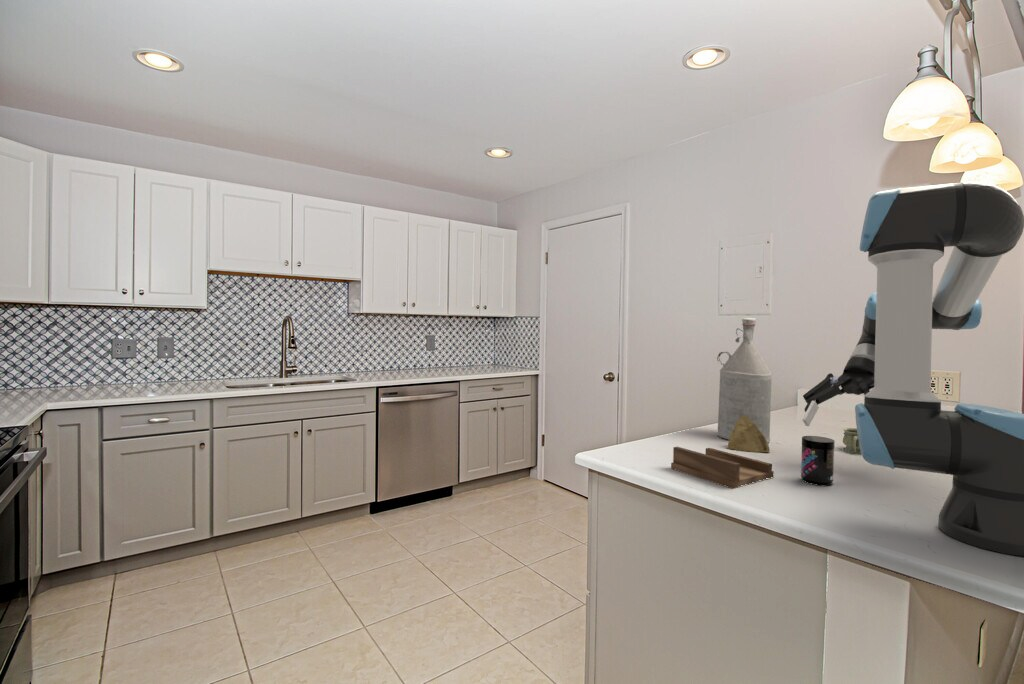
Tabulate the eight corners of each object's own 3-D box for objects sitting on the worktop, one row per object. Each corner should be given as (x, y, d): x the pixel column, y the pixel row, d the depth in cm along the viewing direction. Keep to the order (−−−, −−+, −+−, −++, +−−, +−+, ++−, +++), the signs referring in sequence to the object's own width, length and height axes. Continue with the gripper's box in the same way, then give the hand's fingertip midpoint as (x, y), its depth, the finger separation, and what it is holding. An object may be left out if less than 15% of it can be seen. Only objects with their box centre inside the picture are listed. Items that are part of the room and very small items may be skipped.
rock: (779, 443, 147) (749, 432, 156) (772, 423, 144) (741, 413, 152) (757, 468, 144) (728, 456, 153) (750, 448, 140) (720, 436, 149)
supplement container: (802, 475, 125) (804, 434, 124) (834, 481, 120) (836, 438, 120) (798, 482, 119) (799, 439, 119) (831, 488, 115) (833, 444, 115)
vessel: (872, 458, 141) (872, 436, 140) (836, 452, 147) (836, 431, 147) (883, 451, 148) (884, 430, 148) (848, 445, 155) (849, 425, 155)
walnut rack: (710, 459, 138) (711, 440, 138) (773, 477, 123) (773, 455, 123) (671, 468, 130) (671, 447, 130) (733, 488, 114) (733, 465, 114)
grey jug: (725, 431, 174) (728, 317, 172) (777, 440, 160) (781, 317, 159) (706, 436, 166) (709, 317, 164) (759, 447, 152) (763, 317, 151)
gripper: (927, 379, 122) (896, 448, 115) (820, 370, 143) (789, 427, 136) (918, 358, 119) (887, 428, 112) (810, 352, 140) (778, 410, 133)
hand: (833, 428), depth 124 cm, fingers open, 13 cm apart
